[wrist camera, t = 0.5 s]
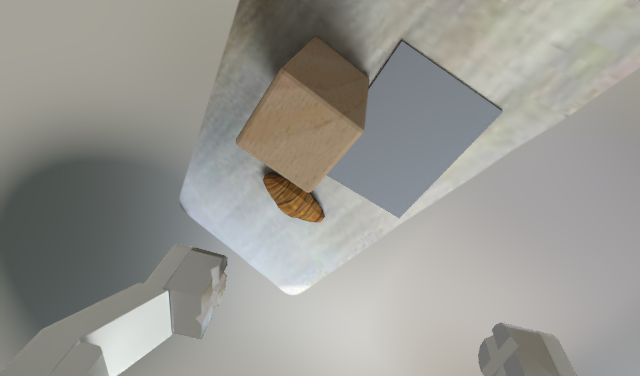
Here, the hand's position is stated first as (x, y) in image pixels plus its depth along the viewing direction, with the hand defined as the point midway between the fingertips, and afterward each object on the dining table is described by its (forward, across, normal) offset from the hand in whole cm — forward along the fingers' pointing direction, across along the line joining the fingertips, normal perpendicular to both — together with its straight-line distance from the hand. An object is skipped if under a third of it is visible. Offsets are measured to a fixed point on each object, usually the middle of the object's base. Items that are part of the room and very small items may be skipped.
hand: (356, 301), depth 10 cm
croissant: (+45, +7, +27) cm, 53 cm away
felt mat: (+44, -8, +12) cm, 47 cm away
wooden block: (+44, +6, +6) cm, 45 cm away
